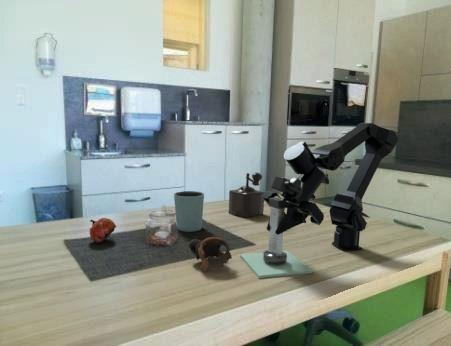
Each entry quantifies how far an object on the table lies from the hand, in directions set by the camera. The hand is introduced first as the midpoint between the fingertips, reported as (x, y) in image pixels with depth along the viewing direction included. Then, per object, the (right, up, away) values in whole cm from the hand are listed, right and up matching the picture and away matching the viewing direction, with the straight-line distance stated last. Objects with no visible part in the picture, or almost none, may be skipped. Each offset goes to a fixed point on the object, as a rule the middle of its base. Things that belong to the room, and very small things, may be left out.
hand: (272, 231), depth 90 cm
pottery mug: (-16, -9, +1) cm, 18 cm away
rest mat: (+1, -9, +2) cm, 9 cm away
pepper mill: (-2, -2, +52) cm, 52 cm away
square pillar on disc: (+1, -8, +2) cm, 8 cm away
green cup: (-24, -4, +32) cm, 40 cm away
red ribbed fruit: (-48, -6, +16) cm, 51 cm away
